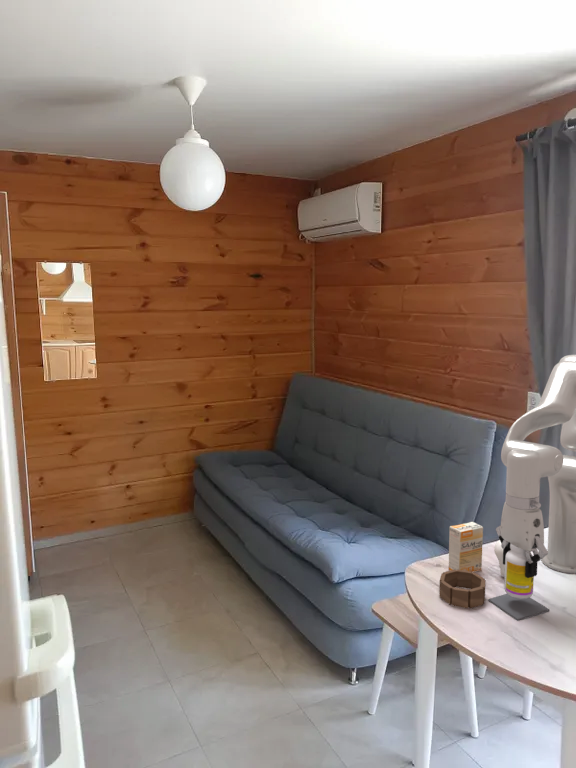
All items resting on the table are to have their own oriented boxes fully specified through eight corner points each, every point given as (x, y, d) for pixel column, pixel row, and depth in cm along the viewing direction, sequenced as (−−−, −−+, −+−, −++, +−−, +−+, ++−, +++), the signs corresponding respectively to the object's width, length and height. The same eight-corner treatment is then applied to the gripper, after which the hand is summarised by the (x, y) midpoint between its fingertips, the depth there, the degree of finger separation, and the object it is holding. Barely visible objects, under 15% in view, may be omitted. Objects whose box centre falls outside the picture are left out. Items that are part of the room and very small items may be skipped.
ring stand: (465, 582, 156) (465, 566, 155) (494, 601, 146) (494, 585, 145) (431, 591, 152) (431, 575, 151) (458, 611, 142) (459, 594, 141)
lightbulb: (517, 574, 159) (519, 536, 158) (516, 584, 154) (517, 545, 152) (494, 570, 162) (495, 533, 160) (492, 580, 157) (493, 542, 155)
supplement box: (459, 577, 159) (460, 532, 157) (447, 569, 163) (448, 525, 161) (482, 570, 162) (483, 526, 160) (470, 563, 167) (471, 520, 164)
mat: (518, 592, 150) (518, 590, 150) (549, 611, 141) (549, 609, 141) (488, 600, 147) (488, 598, 146) (517, 620, 137) (517, 618, 137)
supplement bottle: (535, 601, 139) (537, 551, 137) (506, 598, 141) (508, 549, 139) (529, 587, 146) (532, 539, 144) (502, 585, 147) (504, 537, 145)
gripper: (563, 510, 133) (559, 582, 136) (508, 487, 149) (505, 552, 152) (538, 515, 130) (535, 589, 133) (484, 492, 146) (483, 558, 149)
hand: (519, 569), depth 142 cm, fingers closed on supplement bottle, 6 cm apart
